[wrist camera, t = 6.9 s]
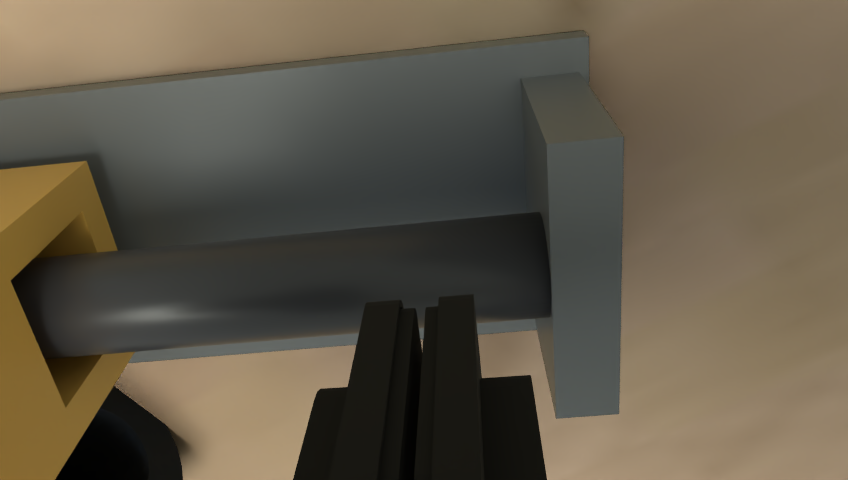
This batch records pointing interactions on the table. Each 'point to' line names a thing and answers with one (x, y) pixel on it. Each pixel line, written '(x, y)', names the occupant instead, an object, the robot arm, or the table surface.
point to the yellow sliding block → (12, 335)
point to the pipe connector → (123, 445)
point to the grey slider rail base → (339, 205)
